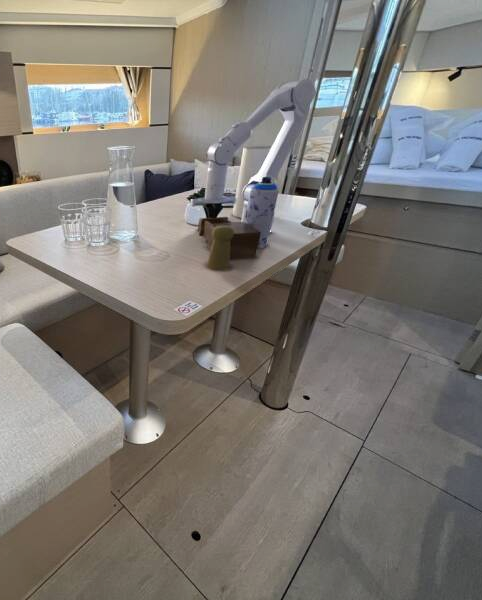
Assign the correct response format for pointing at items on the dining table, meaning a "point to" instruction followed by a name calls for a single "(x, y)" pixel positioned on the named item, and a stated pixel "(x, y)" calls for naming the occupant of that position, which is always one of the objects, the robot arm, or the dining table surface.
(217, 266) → the cork
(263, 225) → the aerosol can
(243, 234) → the cabinet
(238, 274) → the dining table surface
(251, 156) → the cylinder vase
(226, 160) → the robot arm
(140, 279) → the dining table surface
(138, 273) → the dining table surface
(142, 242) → the dining table surface
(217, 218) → the drawer
